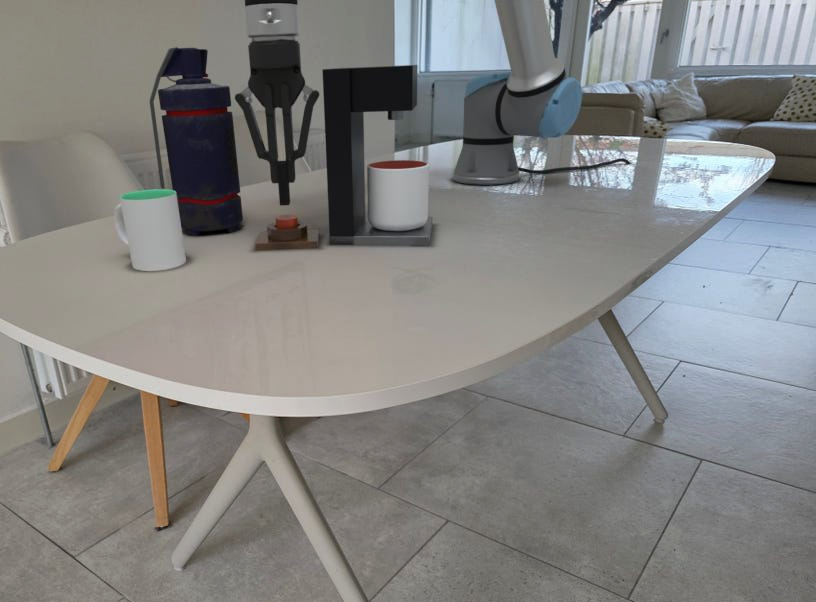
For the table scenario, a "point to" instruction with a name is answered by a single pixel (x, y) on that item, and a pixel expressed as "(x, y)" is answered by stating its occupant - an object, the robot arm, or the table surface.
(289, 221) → the brew button
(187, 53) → the grenade
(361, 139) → the coffee maker
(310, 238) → the brew pad
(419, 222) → the cup
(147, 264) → the mug
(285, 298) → the table surface
